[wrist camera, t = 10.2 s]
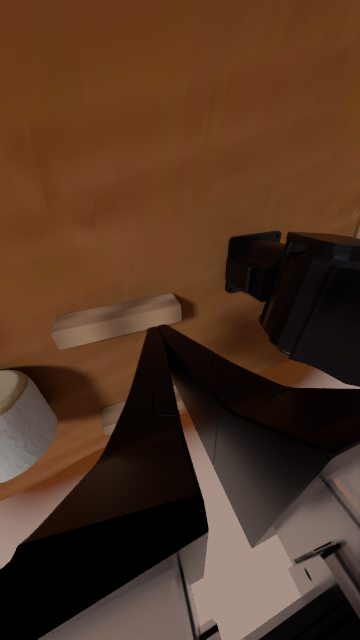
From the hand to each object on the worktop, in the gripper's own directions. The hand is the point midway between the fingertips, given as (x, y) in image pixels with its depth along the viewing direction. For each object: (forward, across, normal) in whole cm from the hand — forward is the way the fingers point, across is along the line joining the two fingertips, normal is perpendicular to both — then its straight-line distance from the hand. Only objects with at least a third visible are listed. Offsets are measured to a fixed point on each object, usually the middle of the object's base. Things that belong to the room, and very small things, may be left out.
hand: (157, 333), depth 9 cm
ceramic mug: (+12, +17, +12) cm, 24 cm away
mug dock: (+12, +2, +13) cm, 18 cm away
